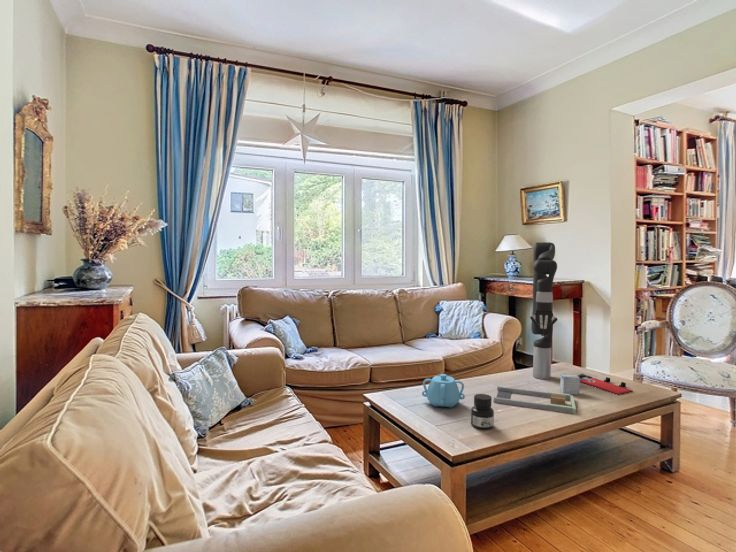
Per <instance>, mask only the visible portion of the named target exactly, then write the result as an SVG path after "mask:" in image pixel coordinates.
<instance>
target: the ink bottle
mask: <svg viewBox="0 0 736 552" xmlns="http://www.w3.org/2000/svg"><path fill="white" fill-rule="evenodd" d="M492 398H493V397H492V396H491V395H489V394H486V393H476V394H474V397H473V405H474V406H472V407H471V409H470V411H471V413H470V424H471V426H472V427H473V428H475V429H478V430H485V431H486V430H491V429H493V428H494V427H495V426H494V425H495V412H494V409H493V408H492V400H493V399H492Z"/></svg>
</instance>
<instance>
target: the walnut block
mask: <svg viewBox="0 0 736 552" xmlns="http://www.w3.org/2000/svg"><path fill="white" fill-rule="evenodd" d="M550 404H555V405H563V406H566V400H565V395H560V394H553V393H551V398H550Z"/></svg>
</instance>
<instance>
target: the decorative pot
mask: <svg viewBox="0 0 736 552" xmlns="http://www.w3.org/2000/svg"><path fill="white" fill-rule="evenodd" d="M426 382H429V384H428V387H427V386H426ZM458 384H460V385H461V387H460V388H461V389H459V386H458ZM422 386H423V389H424V390H422V392H421V394H422V396H423V397H426V398H427V401H428V402H429V403H430V404H431V405H432V406H433V407H444V408H445V407H446V408H453V407H455V406H456V405H457V404H458V403H459V401H460V400H465V398H466V397H465V396H466V395H465V394H464V393H463V392H464V389H465V384H464V383H463V381H461V380H457V379H455V378H454V377H453V376H449V375H448V374H445V373H441V374H439V375H435V376H433V377H432V378H425V379H424V380H423V382H422Z"/></svg>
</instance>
